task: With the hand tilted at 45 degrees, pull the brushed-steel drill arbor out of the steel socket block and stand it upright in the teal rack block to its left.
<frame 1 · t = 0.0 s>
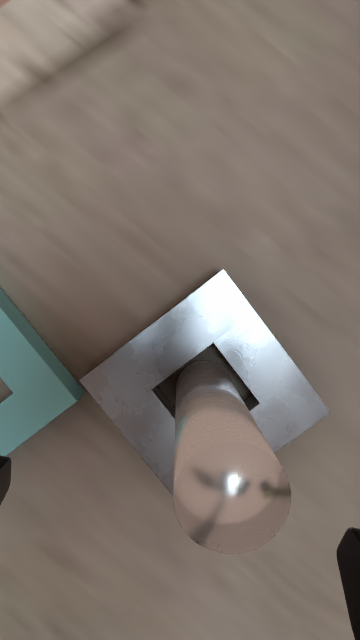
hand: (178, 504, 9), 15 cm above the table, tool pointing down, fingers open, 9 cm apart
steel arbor: (212, 423, 18), in the socket block
socket block: (203, 387, 24), on the table
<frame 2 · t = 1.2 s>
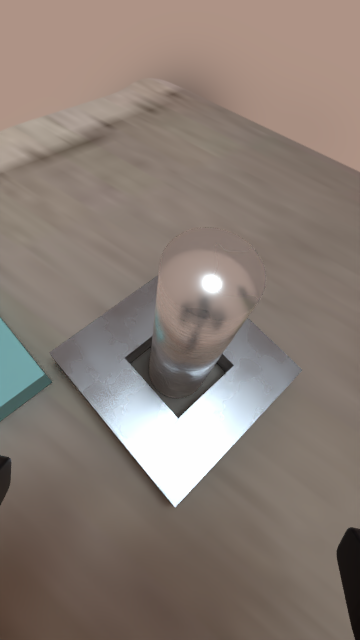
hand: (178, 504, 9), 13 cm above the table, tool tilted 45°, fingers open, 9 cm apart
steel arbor: (189, 336, 18), in the socket block
socket block: (176, 370, 24), on the table
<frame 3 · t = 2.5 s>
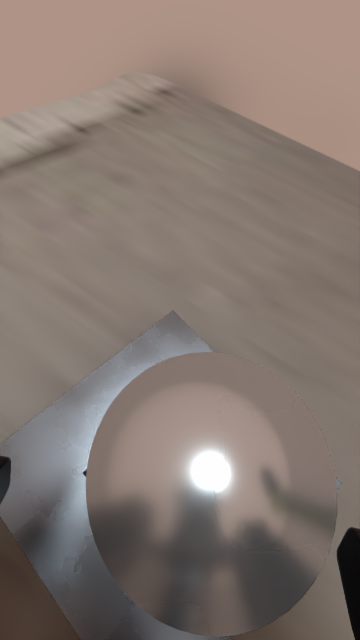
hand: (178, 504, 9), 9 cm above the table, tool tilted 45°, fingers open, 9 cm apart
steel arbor: (174, 475, 11), in the socket block
socket block: (161, 476, 17), on the table
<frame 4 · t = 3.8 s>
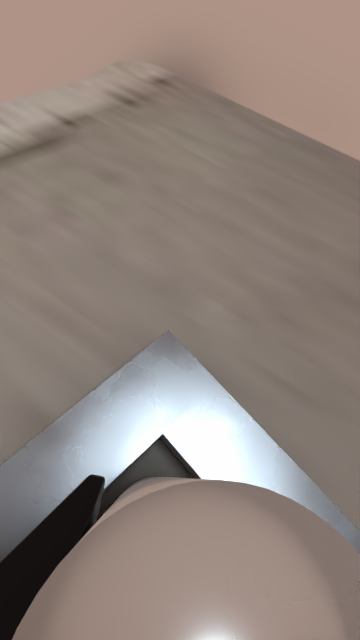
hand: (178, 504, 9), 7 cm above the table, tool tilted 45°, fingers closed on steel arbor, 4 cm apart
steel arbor: (166, 562, 9), in the socket block, touching gripper
socket block: (154, 527, 14), on the table
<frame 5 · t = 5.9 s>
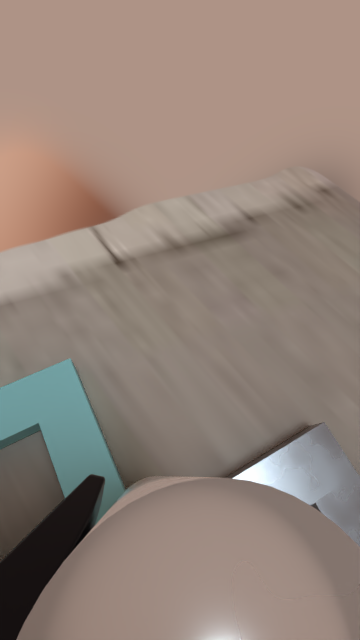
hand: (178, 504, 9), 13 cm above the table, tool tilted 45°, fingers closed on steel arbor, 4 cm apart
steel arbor: (168, 561, 9), point 13 cm above the table, touching gripper
socket block: (291, 566, 20), on the table
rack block: (13, 498, 20), on the table
when the fingers open (8 cm above the table, at t = 7.9 s): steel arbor drops 1 cm, resting in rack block.
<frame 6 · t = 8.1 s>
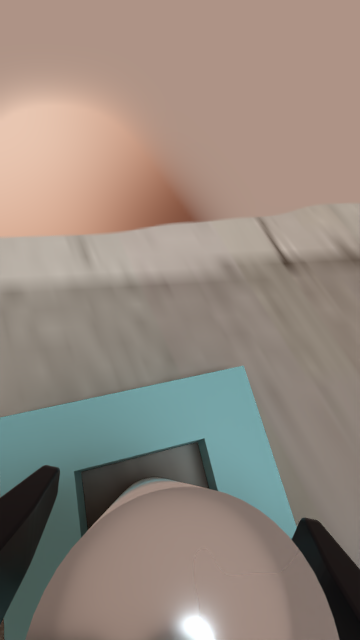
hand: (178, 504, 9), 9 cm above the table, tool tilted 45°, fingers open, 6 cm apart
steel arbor: (160, 553, 10), in the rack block
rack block: (153, 522, 16), on the table
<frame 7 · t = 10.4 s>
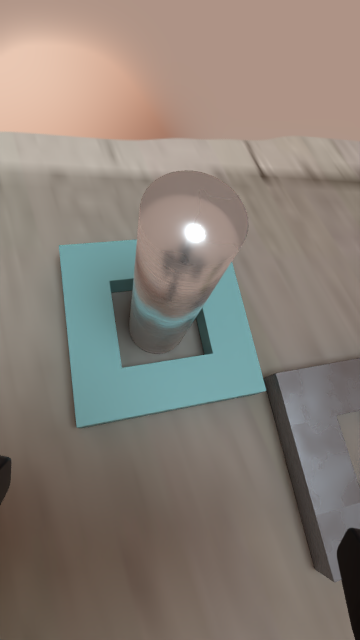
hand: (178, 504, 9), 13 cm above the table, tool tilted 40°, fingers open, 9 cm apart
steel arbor: (169, 289, 18), in the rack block
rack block: (157, 326, 24), on the table
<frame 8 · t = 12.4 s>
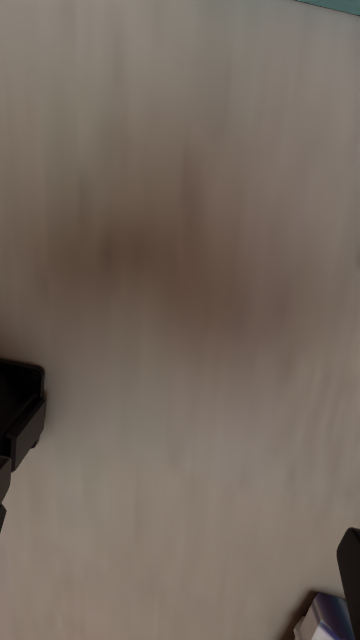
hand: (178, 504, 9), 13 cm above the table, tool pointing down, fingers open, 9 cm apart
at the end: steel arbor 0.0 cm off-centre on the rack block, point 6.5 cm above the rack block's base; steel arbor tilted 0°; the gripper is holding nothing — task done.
